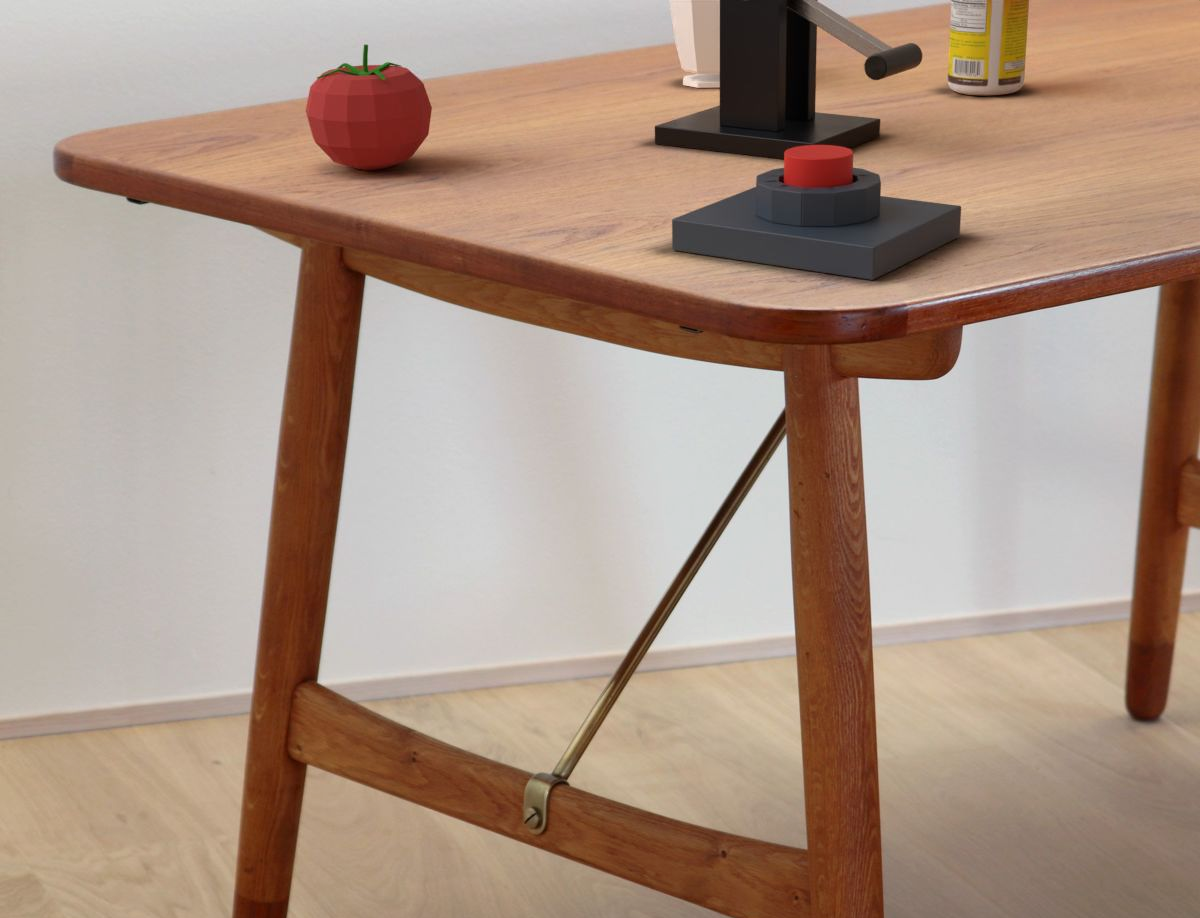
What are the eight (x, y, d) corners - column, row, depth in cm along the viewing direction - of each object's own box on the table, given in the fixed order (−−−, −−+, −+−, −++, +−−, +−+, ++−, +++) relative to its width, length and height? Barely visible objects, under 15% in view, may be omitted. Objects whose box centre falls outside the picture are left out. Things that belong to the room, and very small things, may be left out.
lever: (913, 78, 123) (929, 44, 121) (877, 91, 119) (893, 56, 118) (765, -15, 126) (778, -49, 125) (725, -6, 123) (738, -41, 121)
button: (864, 182, 102) (865, 148, 101) (831, 195, 99) (832, 161, 99) (804, 174, 104) (805, 142, 103) (771, 188, 101) (771, 154, 101)
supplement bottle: (1019, 83, 144) (1028, -61, 140) (1027, 97, 139) (1037, -52, 135) (943, 84, 145) (951, -59, 140) (949, 97, 140) (956, -51, 135)
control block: (960, 237, 103) (963, 171, 102) (873, 280, 96) (875, 211, 95) (767, 211, 110) (767, 149, 108) (671, 250, 102) (671, 184, 101)
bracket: (880, 136, 128) (886, -50, 123) (813, 162, 121) (817, -34, 116) (725, 120, 134) (726, -58, 129) (654, 144, 128) (652, -43, 123)
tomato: (332, 186, 118) (321, 58, 115) (294, 163, 125) (283, 41, 122) (453, 171, 121) (446, 46, 118) (410, 149, 128) (402, 30, 125)
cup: (648, 87, 146) (647, -23, 143) (704, 66, 154) (704, -39, 151) (733, 93, 143) (733, -20, 140) (785, 71, 151) (787, -36, 148)
